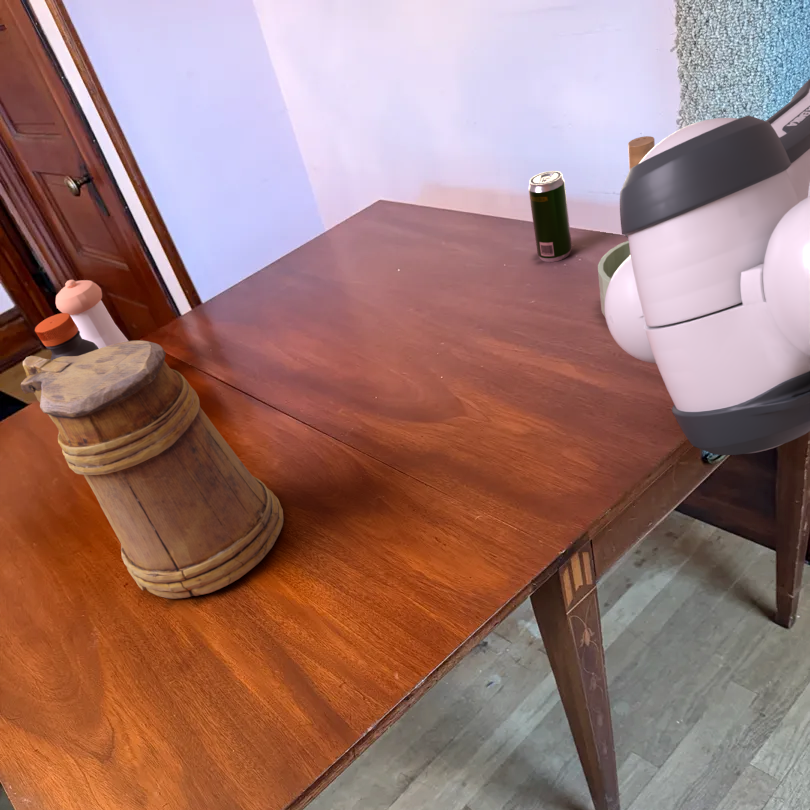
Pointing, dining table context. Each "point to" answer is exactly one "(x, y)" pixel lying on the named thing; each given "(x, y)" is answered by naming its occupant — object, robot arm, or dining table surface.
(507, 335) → the dining table surface
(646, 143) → the wooden pestle
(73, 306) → the pepper shaker
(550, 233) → the beer can
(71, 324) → the bottle
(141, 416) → the tankard
